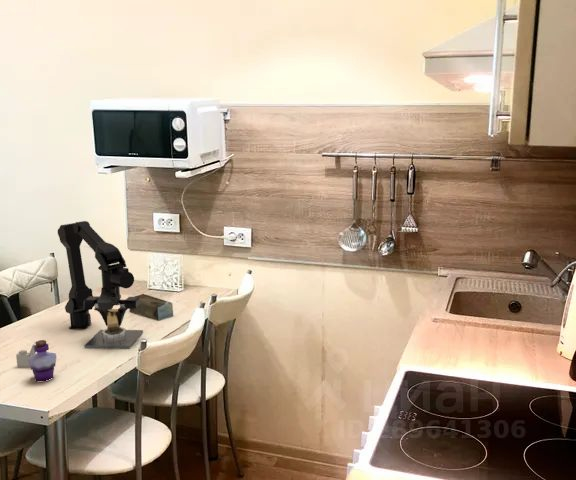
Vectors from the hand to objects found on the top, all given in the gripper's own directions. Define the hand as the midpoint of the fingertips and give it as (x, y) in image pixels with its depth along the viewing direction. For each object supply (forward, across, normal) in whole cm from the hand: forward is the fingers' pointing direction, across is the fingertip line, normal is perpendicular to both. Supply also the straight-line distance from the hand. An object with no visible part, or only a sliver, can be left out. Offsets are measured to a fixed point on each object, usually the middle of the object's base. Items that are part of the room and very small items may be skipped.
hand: (113, 325), depth 223 cm
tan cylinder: (+2, 0, 0) cm, 2 cm away
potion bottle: (+6, -11, -33) cm, 35 cm away
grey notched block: (+6, -20, -24) cm, 32 cm away
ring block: (+6, 0, 0) cm, 6 cm away
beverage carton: (+6, +5, +30) cm, 31 cm away
